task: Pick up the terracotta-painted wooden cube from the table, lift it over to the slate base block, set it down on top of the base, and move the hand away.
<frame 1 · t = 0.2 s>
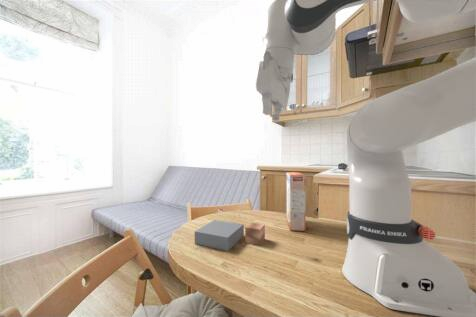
hand: (271, 117, 53), 38 cm above the table, tool pointing down, fingers open, 8 cm apart
cube: (255, 240, 64), on the table
base: (220, 239, 65), on the table
cracker box: (295, 225, 78), on the table
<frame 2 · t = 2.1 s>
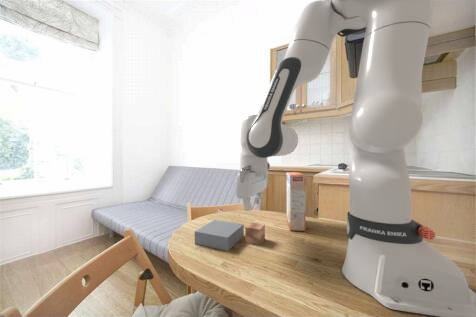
hand: (253, 206, 64), 11 cm above the table, tool pointing down, fingers open, 8 cm apart
nothing on the table moved.
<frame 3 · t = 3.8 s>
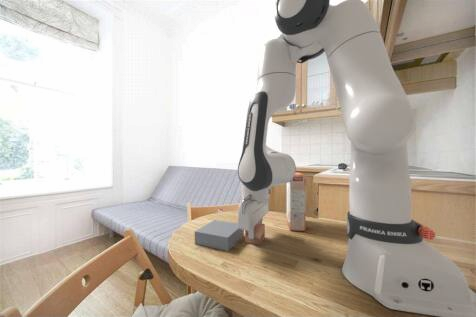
hand: (255, 234, 64), 2 cm above the table, tool pointing down, fingers closed on cube, 5 cm apart
cube: (255, 240, 64), on the table, touching gripper
everything else where it was.
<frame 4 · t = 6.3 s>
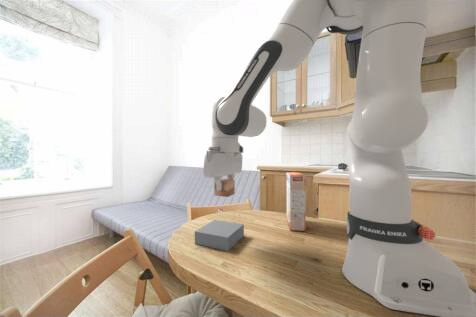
hand: (224, 188, 65), 17 cm above the table, tool pointing down, fingers closed on cube, 5 cm apart
cube: (224, 194, 65), point 15 cm above the table, touching gripper
everything else where it was.
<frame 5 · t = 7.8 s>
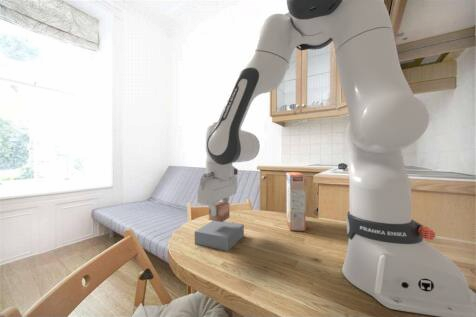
hand: (219, 212, 65), 9 cm above the table, tool pointing down, fingers closed on cube, 5 cm apart
cube: (219, 218, 65), point 7 cm above the table, touching gripper
everything else where it was.
when the fingers open (8 cm above the table, at t = 8.9 s): cube drops 1 cm, resting on base.
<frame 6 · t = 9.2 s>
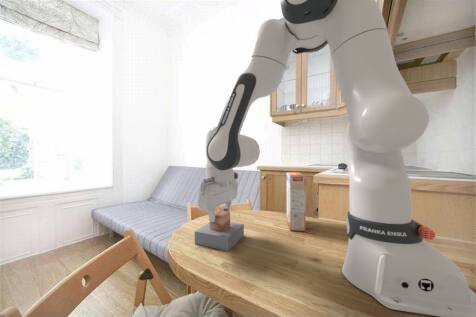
hand: (220, 217, 65), 8 cm above the table, tool pointing down, fingers open, 8 cm apart
cube: (220, 227, 65), point 4 cm above the table, touching base
everything else where it was.
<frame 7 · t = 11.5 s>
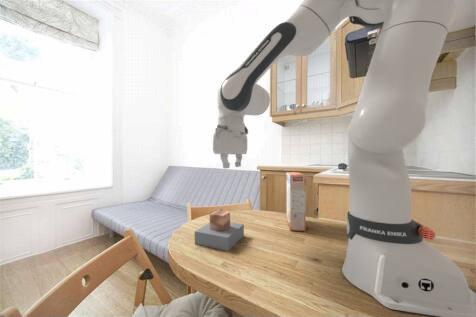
hand: (232, 167, 67), 24 cm above the table, tool pointing down, fingers open, 8 cm apart
nothing on the table moved.
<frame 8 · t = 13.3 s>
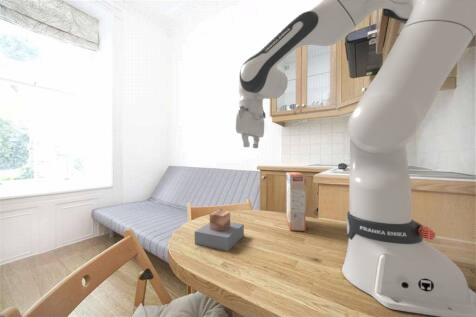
hand: (251, 147, 72), 31 cm above the table, tool pointing down, fingers open, 8 cm apart
nothing on the table moved.
at the end: cube inside the target area on the base (0.0 cm from its centre), point 4.0 cm above the base's base; cube tilted 0°; the gripper is holding nothing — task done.
